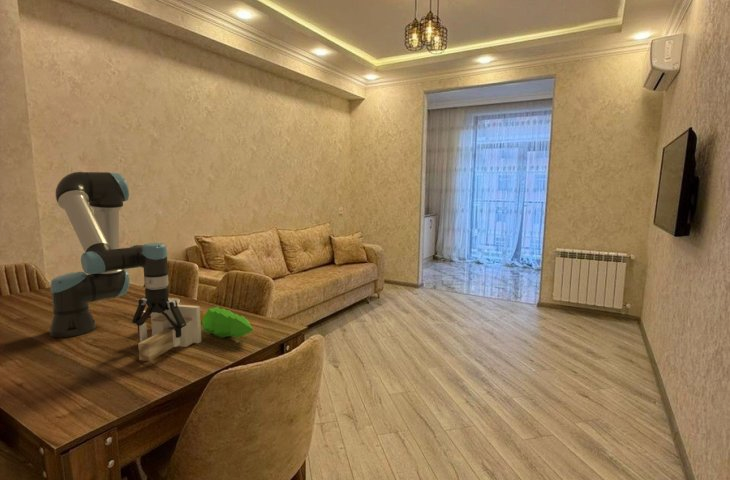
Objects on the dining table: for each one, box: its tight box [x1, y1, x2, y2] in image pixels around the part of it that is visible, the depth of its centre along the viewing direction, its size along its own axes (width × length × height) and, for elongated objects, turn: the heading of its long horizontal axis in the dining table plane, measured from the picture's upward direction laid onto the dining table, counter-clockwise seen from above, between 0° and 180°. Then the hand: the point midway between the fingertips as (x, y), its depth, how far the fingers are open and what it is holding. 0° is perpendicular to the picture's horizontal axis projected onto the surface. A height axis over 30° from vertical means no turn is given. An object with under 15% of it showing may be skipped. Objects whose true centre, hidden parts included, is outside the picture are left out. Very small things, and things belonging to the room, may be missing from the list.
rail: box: [137, 327, 174, 362], centre depth 143 cm, size 4×16×6 cm, turn 169°
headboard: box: [150, 304, 202, 348], centre depth 151 cm, size 20×6×14 cm, turn 78°
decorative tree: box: [200, 306, 254, 339], centre depth 157 cm, size 11×12×30 cm
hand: (160, 343), depth 144 cm, fingers open, 13 cm apart
